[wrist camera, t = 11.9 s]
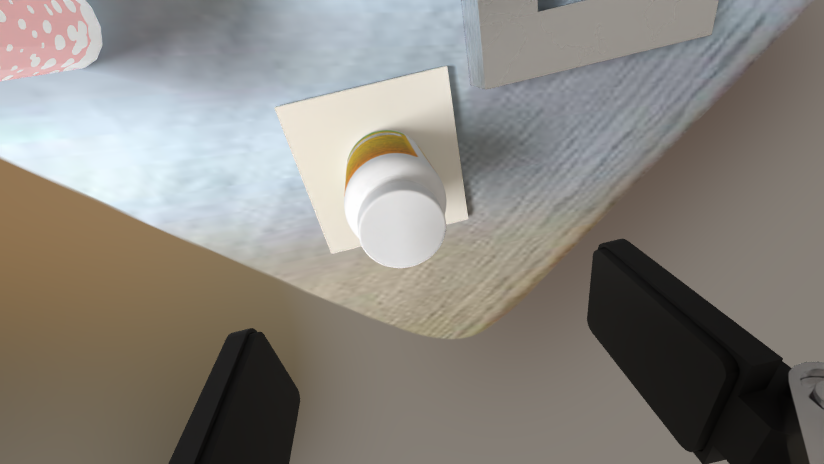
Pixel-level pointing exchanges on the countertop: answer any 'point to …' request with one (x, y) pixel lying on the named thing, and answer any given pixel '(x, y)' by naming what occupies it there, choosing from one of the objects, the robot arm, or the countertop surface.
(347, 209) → the supplement bottle
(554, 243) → the countertop surface
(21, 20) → the beverage cup
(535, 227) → the countertop surface
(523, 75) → the concrete holder
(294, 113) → the plastic mat
